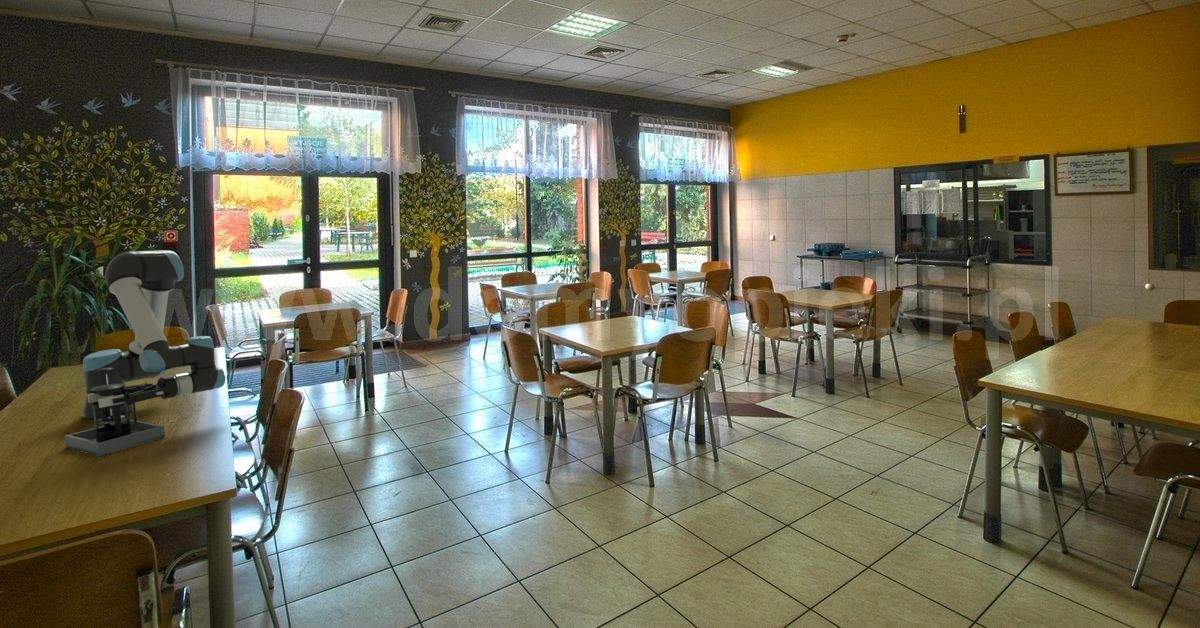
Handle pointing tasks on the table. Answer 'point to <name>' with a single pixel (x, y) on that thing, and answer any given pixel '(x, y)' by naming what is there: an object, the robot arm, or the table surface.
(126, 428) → the french press
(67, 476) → the table surface
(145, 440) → the tray
